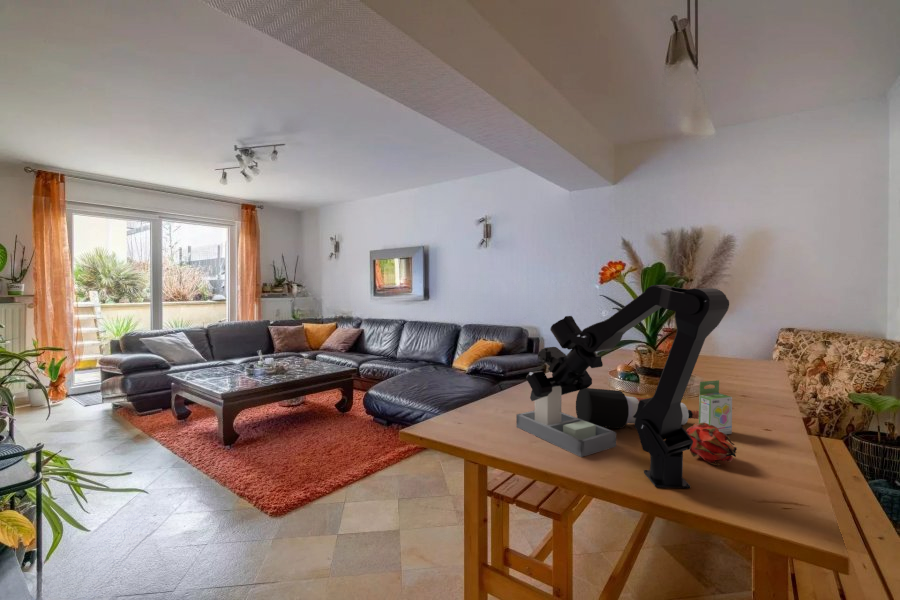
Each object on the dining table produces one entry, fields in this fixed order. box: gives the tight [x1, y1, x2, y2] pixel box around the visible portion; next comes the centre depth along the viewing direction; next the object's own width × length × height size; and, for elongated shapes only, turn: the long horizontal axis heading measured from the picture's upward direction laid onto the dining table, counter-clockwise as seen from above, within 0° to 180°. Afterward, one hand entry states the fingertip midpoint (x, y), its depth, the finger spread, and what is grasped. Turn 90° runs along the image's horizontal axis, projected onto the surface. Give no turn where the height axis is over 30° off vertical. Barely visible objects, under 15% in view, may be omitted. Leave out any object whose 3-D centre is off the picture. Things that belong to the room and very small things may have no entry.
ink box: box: [698, 379, 733, 435], centre depth 106 cm, size 7×4×13 cm, turn 105°
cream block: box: [534, 386, 562, 425], centre depth 110 cm, size 5×5×12 cm
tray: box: [515, 410, 617, 458], centre depth 105 cm, size 23×12×4 cm, turn 30°
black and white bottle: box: [575, 387, 699, 429], centre depth 113 cm, size 10×34×10 cm, turn 93°
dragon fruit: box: [685, 422, 738, 466], centre depth 90 cm, size 8×8×12 cm
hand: (544, 397), depth 111 cm, fingers open, 9 cm apart
